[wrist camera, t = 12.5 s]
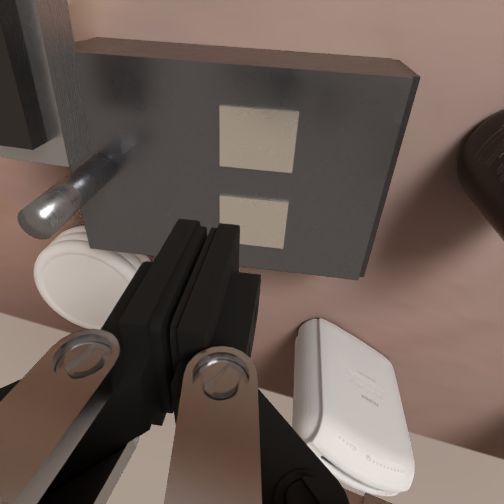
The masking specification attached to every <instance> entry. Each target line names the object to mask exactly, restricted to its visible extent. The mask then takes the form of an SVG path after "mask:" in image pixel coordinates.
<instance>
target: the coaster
mask: <svg viewBox="0 0 504 504" xmlns="http://www.w3.org/2000/svg"><path fill="white" fill-rule="evenodd" d="M145 261H149V262H151V260H150V259H149V257H148V256H147V255H141V254H133V253H125V252H116V251H108V250H99V249H91V248H90V246H89V242H88V238H87V234H86V230H85V226H77V227H73V228H70V229H68V230H65V231H64V232H62V233H60V234H59V235H58V236H57V237H56V238H55V240H53V241H52V242H51V243H50V244H49V245H48V246H47V247H46V248H45V249H44V250H43V251H42V252H41V253H40V254H39V255H38V258H37V260H36V262H35V265H34V279H35V283H36V286H37V288H38V290H39V292H40V294H41V296H42V297H43V299H44V300H45V301H46V303H47V304H48V305H49V306H50V307H51V308H52V309H53V310H54V311H55V312H57V313H58V314H59V315H61V316H62V317H64V318H65V319H67V320H68V321H70V322H72V323H74V324H76V325H79V326H81V327H84V328H87V329H99V330H100V329H101V328H102V326H103V325H104V323H105V321H106V320H107V318H108V317H109V315H110V313H111V312H112V310H113V309H114V307H115V305H116V304H117V302H118V301H119V299H120V297H121V296H122V294H123V293H124V291H125V289H126V288H127V286H128V285H129V283H130V281H131V280H132V278H133V277H134V275H135V273H136V272H137V270H138V268H139V267H140V265H141V264H142V263H143V262H145Z"/></svg>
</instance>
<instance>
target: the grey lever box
mask: <svg viewBox="0 0 504 504" xmlns="http://www.w3.org/2000/svg"><path fill="white" fill-rule="evenodd" d="M74 46H75V52H76V58H77V64H78V71H79V77H80V83H81V89H82V95H83V101H84V107H85V113H86V119H87V126H88V132H89V138H90V144H91V150H92V151H90V152H89V153H88V154H86V155H85V156H83V157H82V158H81V159H79V160H78V161H77V162H75V163H74V164H72V165H71V166H70V168H71V173H70V174H68V175H67V176H66V177H64V178H63V179H62V180H60V181H59V182H58V183H56V184H55V185H54V186H52V187H51V188H50V189H48V190H47V191H46V192H44V193H43V194H42V195H41V196H39V197H38V198H37V199H35V200H34V201H33V202H31V203H30V204H29V205H27V206H26V207H25V208H23V209H22V210H21V211H20V212H19V213H18V222H19V225H20V226H21V228H22V229H23V230H24V231H25V232H26V233H27V234H28V235H30V236H32V237H34V238H37V239H48V238H50V237H51V236H52V235H53V234H54V233H55V232H56V231H57V230H58V229H59V228H60V227H61V226H62V225H64V224H65V223H66V222H67V221H68V220H69V219H70V218H71V217H72V216H73V215H74V214H75V213H76V212H77V211H78V210H79V209H81V213H82V217H83V222H84V226H85V230H86V234H87V238H88V242H89V246H90V248H91V249H99V250H108V251H116V252H125V253H133V254H141V255H150V256H157V255H158V253H159V251H160V250H161V248H162V246H163V245H164V243H165V241H166V239H167V238H168V236H169V234H170V233H171V231H172V229H173V227H174V226H175V224H176V222H177V221H178V219H188V220H197V221H200V224H201V226H204V227H206V228H207V236H208V234H209V232H210V229H211V228H212V227H213V228H218V225H219V223H224V224H233V225H240V247H239V266H242V267H251V268H259V269H267V270H276V271H284V272H293V273H301V274H310V275H318V276H326V277H335V278H343V279H352V280H358V279H359V277H364V274H365V271H366V267H367V264H368V260H369V257H370V253H371V250H372V246H373V243H374V239H375V236H376V232H377V229H378V225H379V221H380V218H381V214H382V211H383V207H384V204H385V200H386V197H387V193H388V190H389V186H390V183H391V179H392V176H393V172H394V169H395V165H396V161H397V158H398V154H399V151H400V147H401V144H402V140H403V137H404V133H405V130H406V126H407V123H408V119H409V116H410V112H411V109H412V105H413V101H414V98H415V94H416V91H417V87H418V84H419V80H420V76H419V75H417V74H416V73H415V72H414V71H412V70H411V69H410V68H409V67H407V66H406V65H405V64H404V63H402V62H401V61H400V60H392V59H390V58H376V57H362V56H349V55H335V54H321V53H307V52H294V51H280V50H266V49H252V48H239V47H225V46H211V45H197V44H184V43H170V42H156V41H142V40H129V39H115V38H101V37H97V38H92V39H88V40H83V41H78V42H74Z"/></svg>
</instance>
